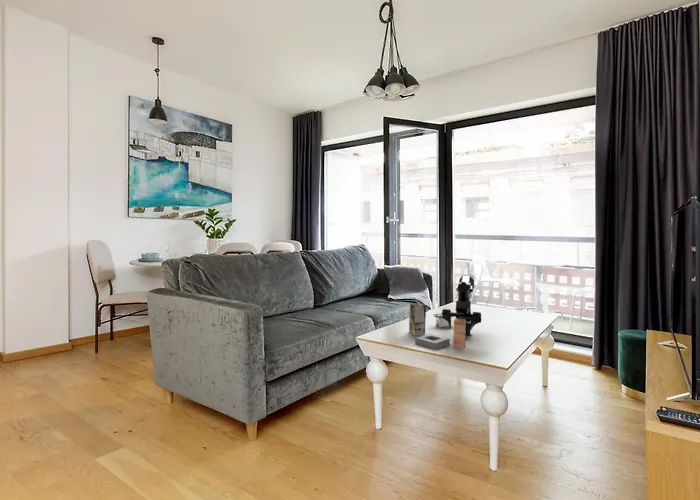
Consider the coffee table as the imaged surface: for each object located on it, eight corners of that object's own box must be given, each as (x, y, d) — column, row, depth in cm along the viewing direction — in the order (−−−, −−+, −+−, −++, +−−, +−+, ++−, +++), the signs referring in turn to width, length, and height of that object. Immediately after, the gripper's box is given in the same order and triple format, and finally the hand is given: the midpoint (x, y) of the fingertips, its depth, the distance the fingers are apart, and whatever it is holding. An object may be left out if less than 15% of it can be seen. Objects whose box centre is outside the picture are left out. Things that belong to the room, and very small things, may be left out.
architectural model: (416, 324, 238) (416, 308, 238) (450, 321, 248) (450, 305, 248) (436, 332, 220) (436, 314, 220) (471, 328, 230) (472, 311, 230)
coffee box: (425, 335, 211) (426, 305, 211) (414, 336, 210) (414, 306, 210) (419, 331, 220) (420, 302, 220) (408, 331, 219) (409, 302, 219)
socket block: (429, 339, 205) (429, 333, 205) (449, 344, 196) (449, 338, 196) (415, 343, 197) (415, 337, 197) (435, 349, 188) (435, 343, 188)
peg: (454, 344, 197) (455, 318, 196) (465, 345, 195) (465, 319, 194) (453, 346, 193) (454, 320, 192) (463, 348, 191) (464, 321, 190)
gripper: (443, 293, 201) (438, 319, 191) (481, 295, 194) (479, 323, 184) (445, 305, 209) (440, 331, 199) (482, 309, 202) (480, 335, 192)
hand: (459, 330), depth 193 cm, fingers open, 9 cm apart
